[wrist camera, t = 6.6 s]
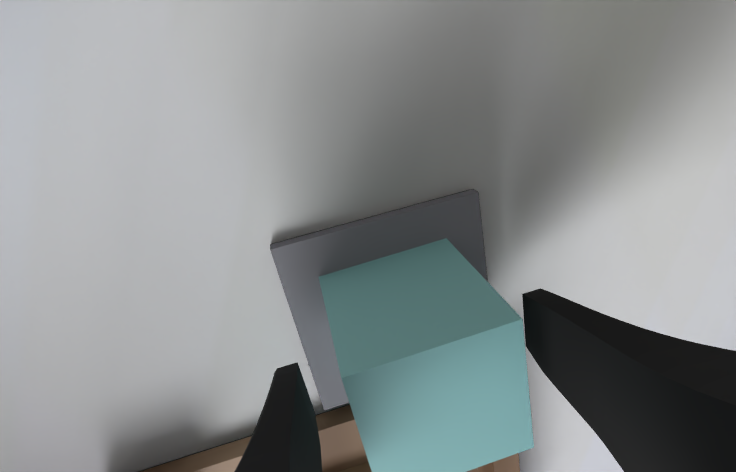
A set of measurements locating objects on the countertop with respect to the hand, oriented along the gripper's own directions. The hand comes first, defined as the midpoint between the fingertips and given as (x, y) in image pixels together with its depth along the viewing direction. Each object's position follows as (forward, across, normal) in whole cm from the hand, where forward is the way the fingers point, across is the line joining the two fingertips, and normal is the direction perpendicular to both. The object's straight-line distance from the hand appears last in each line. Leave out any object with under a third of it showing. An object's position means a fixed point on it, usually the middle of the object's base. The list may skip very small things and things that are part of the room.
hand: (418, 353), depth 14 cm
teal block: (+2, 0, 0) cm, 3 cm away
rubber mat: (+3, 0, 0) cm, 3 cm away
